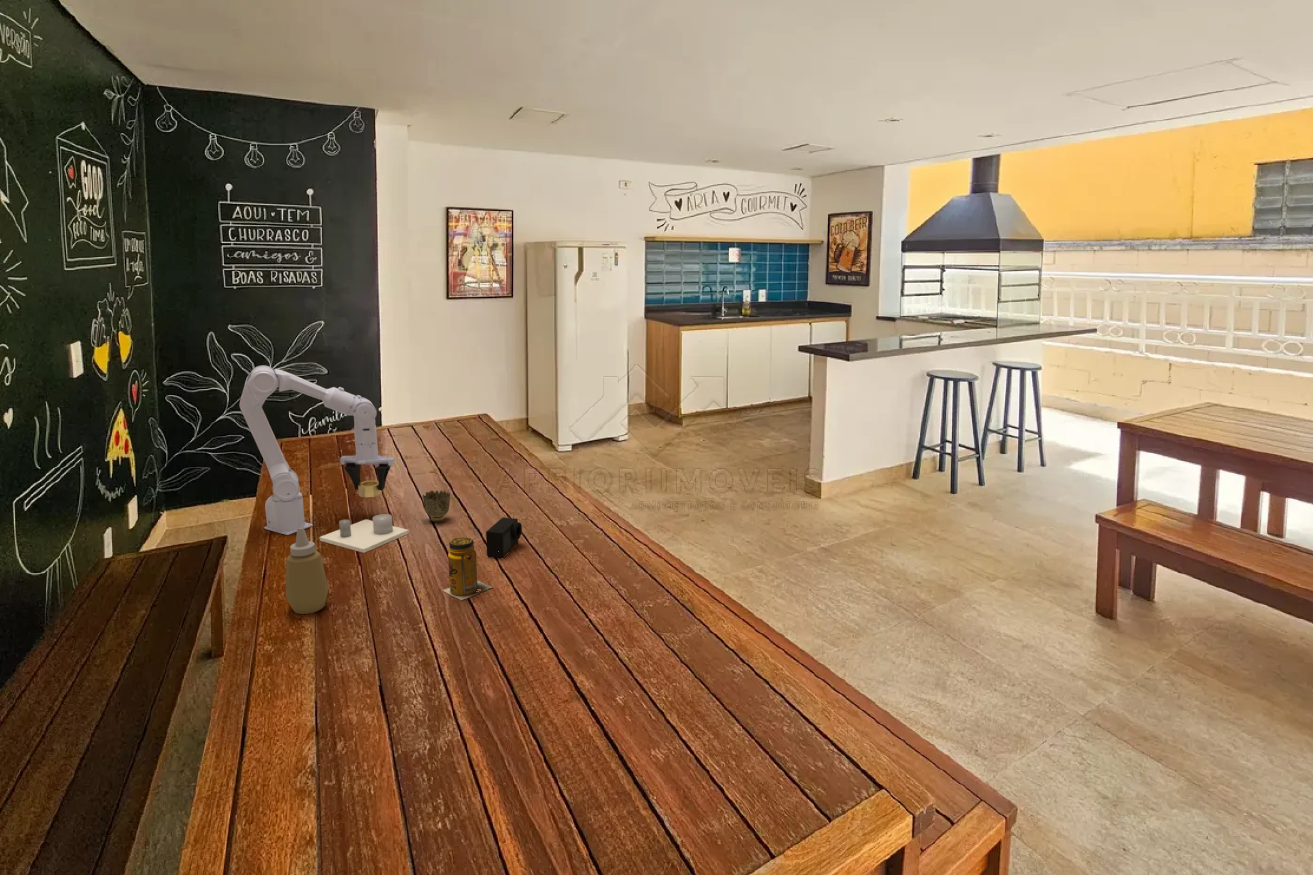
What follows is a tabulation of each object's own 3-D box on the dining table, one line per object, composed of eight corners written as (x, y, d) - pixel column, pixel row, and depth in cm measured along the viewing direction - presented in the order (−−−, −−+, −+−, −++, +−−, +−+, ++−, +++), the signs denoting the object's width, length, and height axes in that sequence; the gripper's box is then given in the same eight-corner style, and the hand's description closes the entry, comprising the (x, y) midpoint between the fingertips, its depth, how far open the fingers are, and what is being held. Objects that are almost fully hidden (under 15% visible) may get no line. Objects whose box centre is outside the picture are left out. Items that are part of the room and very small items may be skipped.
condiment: (441, 590, 160) (439, 541, 157) (473, 578, 167) (471, 530, 164) (461, 601, 156) (458, 550, 153) (492, 588, 162) (491, 539, 159)
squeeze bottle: (316, 595, 157) (308, 518, 152) (337, 606, 152) (330, 527, 148) (280, 610, 150) (270, 529, 146) (301, 621, 146) (292, 539, 141)
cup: (443, 526, 198) (442, 499, 196) (419, 524, 199) (417, 496, 197) (456, 517, 205) (454, 490, 203) (432, 515, 206) (430, 488, 204)
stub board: (319, 540, 186) (318, 522, 185) (366, 522, 199) (364, 505, 198) (363, 552, 179) (362, 534, 178) (408, 533, 192) (407, 515, 191)
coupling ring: (354, 495, 201) (353, 484, 200) (371, 489, 206) (370, 479, 205) (369, 498, 198) (368, 488, 197) (385, 492, 203) (385, 482, 202)
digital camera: (507, 559, 178) (506, 533, 176) (486, 557, 179) (485, 531, 177) (522, 543, 188) (522, 518, 186) (503, 541, 188) (502, 516, 187)
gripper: (333, 445, 195) (337, 492, 198) (386, 446, 194) (389, 494, 197) (345, 438, 201) (349, 484, 205) (396, 440, 201) (399, 486, 204)
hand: (369, 489), depth 202 cm, fingers closed on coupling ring, 6 cm apart
